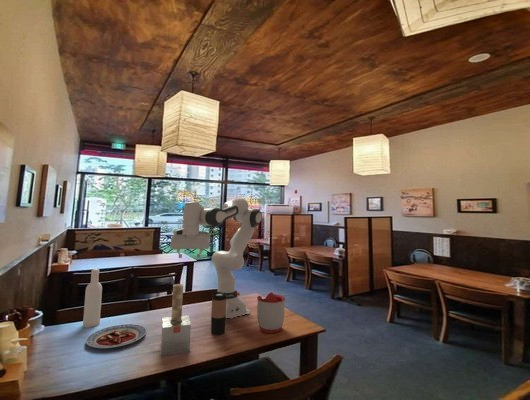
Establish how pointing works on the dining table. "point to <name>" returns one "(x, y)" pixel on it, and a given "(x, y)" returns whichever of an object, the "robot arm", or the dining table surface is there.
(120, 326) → the ceramic plate
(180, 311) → the birch post
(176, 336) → the sleeve block
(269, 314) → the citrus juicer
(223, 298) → the travel mug
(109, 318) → the dining table surface
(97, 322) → the bottle
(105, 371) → the dining table surface
